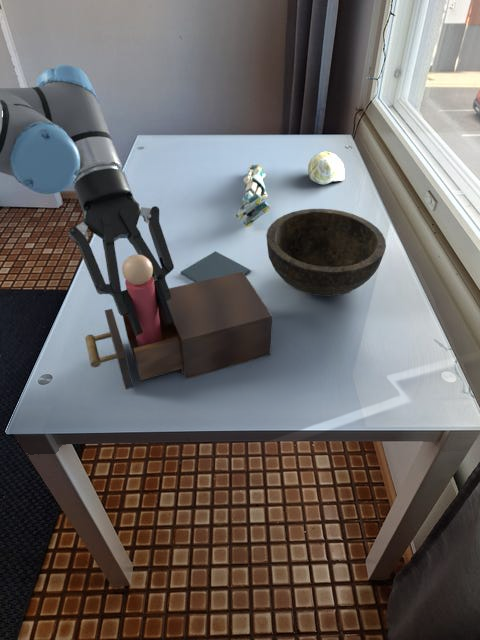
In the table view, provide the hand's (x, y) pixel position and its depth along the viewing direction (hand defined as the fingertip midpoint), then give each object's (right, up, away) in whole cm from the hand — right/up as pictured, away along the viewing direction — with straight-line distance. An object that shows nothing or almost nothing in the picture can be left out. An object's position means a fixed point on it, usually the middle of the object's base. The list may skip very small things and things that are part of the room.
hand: (154, 328), depth 69 cm
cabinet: (+8, -2, +12) cm, 15 cm away
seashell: (+35, +39, +58) cm, 79 cm away
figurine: (+15, +31, +50) cm, 61 cm away
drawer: (-2, -5, +8) cm, 10 cm away
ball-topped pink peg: (-2, -4, +8) cm, 9 cm away
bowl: (+28, +9, +25) cm, 39 cm away
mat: (+8, +11, +27) cm, 30 cm away
